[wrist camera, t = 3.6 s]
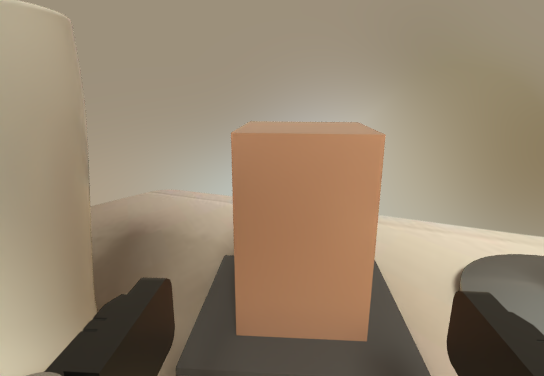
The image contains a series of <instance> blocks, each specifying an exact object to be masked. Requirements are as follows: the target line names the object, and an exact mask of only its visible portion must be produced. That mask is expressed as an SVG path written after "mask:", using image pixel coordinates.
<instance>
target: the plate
mask: <svg viewBox="0 0 544 376" xmlns="http://www.w3.org/2000/svg"><path fill="white" fill-rule="evenodd" d="M459 291H475V292H489V293H491V294H492V295H493V296H494V297H495V298H496V299H497V300H498V301H499V302H500V303H501V304H502V305H503V306H504V307H505V309H506V310H507V311H508V312H513V313H515V314H516V315H518V316H520V317H521V318H523V319H524V320H526V321H528V322H529V323H531V324H533V325H534V326H535V327H536V328H537V329H538V330H539V331H540V332H541V333H542V334H543V335H544V256H537V255H522V254H507V255H495V256H488V257H484V258H480V259H478V260H475V261H473V262H472V263H470V264H468V265H467V266H466V267H465V268H464V270H463V272H462V275H461V281H460V289H459Z"/></svg>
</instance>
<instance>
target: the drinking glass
mask: <svg viewBox="0 0 544 376" xmlns="http://www.w3.org/2000/svg"><path fill="white" fill-rule="evenodd" d="M86 122H87V121H86V110H85V100H84V92H83V85H82V77H81V72H80V65H79V59H78V53H77V48H76V43H75V38H74V33H73V26H72V22H71V20H70V19H69V18H68V17H67V16H65V15H63V14H62V13H59V12H57V11H54V10H52V9H49V8H46V7H42V6H39V5H35V4H31V3H27V2H23V1H18V0H0V376H27V375H30V374H34V373H39V372H44V371H45V370H46V369H47V368H48V367H49V366H50V365H51V363H52V362H53V361H54V360H55V359H56V358H57V357H58V356H59V355H60V353H61V352H62V351H63V350H64V349H65V348H66V347H67V346H68V345H69V344H70V342H71V341H72V340H73V339H74V338H75V337H76V336H77V335H78V334H79V332H80V331H83V328H84V327H85V326H86V325H87V324H88V323H89V321H90V320H93V317H94V316H95V315H96V314H97V307H96V300H95V293H94V279H93V259H92V237H91V213H90V187H89V160H88V137H87V123H86Z"/></svg>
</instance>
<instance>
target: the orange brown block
mask: <svg viewBox="0 0 544 376" xmlns="http://www.w3.org/2000/svg"><path fill="white" fill-rule="evenodd" d="M384 145H385V134H383V133H381V132H378V131H376V130H374V129H371V128H369V127H367V126H365V125H363V124H360V123H357V122H350V123H349V122H255V121H253V122H249V123H247V124H245V125H243V126H242V127H240V128H238V129H237V130H235V131H233V132H232V133H231V147H232V186H233V225H234V264H235V302H236V335H242V336H263V337H284V338H306V339H327V340H348V341H367V334H368V323H369V312H370V301H371V290H372V279H373V268H374V256H375V245H376V234H377V223H378V212H379V201H380V189H381V178H382V167H383V156H384Z"/></svg>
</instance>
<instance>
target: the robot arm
mask: <svg viewBox="0 0 544 376" xmlns="http://www.w3.org/2000/svg"><path fill="white" fill-rule="evenodd" d="M174 330H175V323H174V310H173V298H172V286H171V282H170V280H169V279H167V278H141V279H140V280H139V281H138V282H137V284H136V285H135V286H134V287H133V288H132V290H131V291H130V292H129V293H128V294H127V295H124V294H121V295H120V296H118V297H116V298H115V299H113V300H112V301H110V302H108V303H107V304H105V305H104V306H103V307H102V308H101V309H100V310H99V312H98V313H97V314H96V315H95V316H94V317H93V320H90V321H89V323H88V324H87V325H86V326H85V327H84V328H83V331H80V332H79V334H78V335H77V336H76V337H75V338H74V339H73V340H72V341H71V342H70V344H69V345H68V346H67V347H66V348H65V349H64V350H63V351H62V352H61V353H60V355H59V356H58V357H57V358H56V359H55V360H54V361H53V362H52V363H51V365H50V366H49V367H48V368H47V369H46V370H45V371H44V372H39V373H34V374H30V375H27V376H157V375H158V373H159V371H160V369H161V367H162V365H163V363H164V361H165V359H166V356H167V354H168V352H169V350H170V348H171V346H172V342H173V338H174ZM447 351H448V356H449V359H450V362H451V364H452V366H453V367H454V369H455V371H456V373H457V374H458V376H544V335H543V334H542V333H541V332H540V331H539V330H538V329H537V328H536V327H535V326H534V325H533V324H531V323H529V322H528V321H526V320H524V319H523V318H521V317H520V316H518V315H516V314H515V313H513V312H508V311H507V310H506V309H505V307H504V306H503V305H502V304H501V303H500V302H499V301H498V300H497V299H496V298H495V297H494V296H493V295H492V294H491V293H489V292H475V291H458V292H456V294H455V295H454V299H453V305H452V311H451V317H450V323H449V329H448V335H447Z"/></svg>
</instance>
